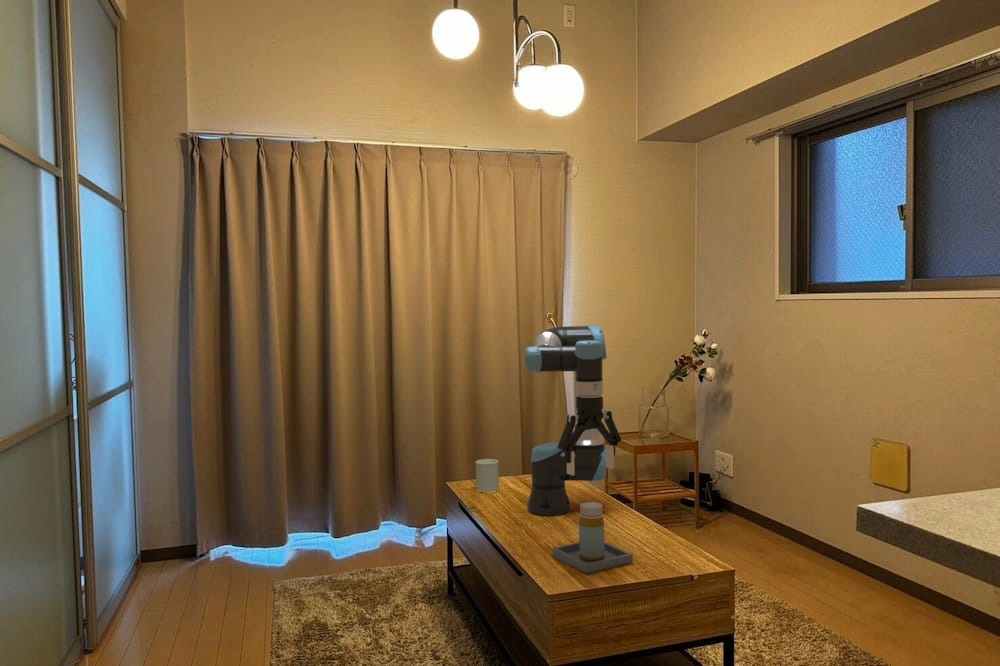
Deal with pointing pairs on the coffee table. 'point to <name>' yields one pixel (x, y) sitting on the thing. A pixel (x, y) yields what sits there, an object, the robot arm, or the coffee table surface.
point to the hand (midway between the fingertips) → (590, 471)
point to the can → (487, 475)
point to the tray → (572, 558)
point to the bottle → (591, 532)
